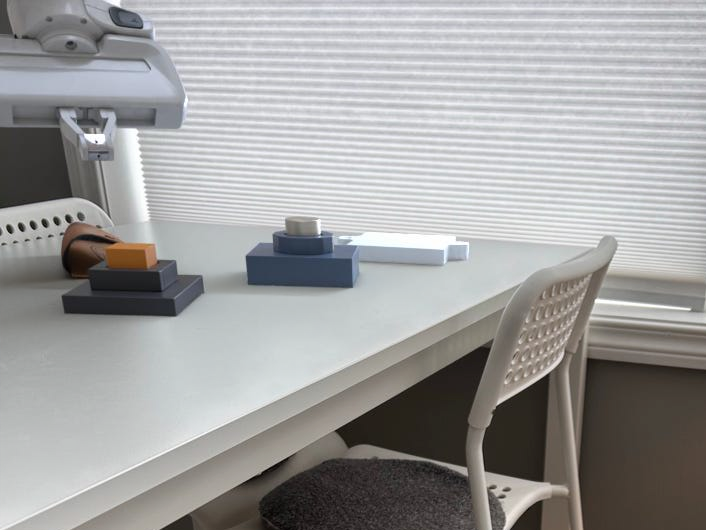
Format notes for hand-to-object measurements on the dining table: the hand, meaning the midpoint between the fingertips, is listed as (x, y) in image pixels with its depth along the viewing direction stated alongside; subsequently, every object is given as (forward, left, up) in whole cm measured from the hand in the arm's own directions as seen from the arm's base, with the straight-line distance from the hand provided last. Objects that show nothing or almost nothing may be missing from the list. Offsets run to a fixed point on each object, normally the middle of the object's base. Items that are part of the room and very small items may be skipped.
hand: (98, 156), depth 92 cm
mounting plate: (+28, +35, -14) cm, 47 cm away
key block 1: (+4, -9, -13) cm, 17 cm away
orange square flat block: (+4, -9, -9) cm, 13 cm away
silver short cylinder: (+17, +15, -9) cm, 25 cm away
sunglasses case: (-8, +20, -14) cm, 26 cm away
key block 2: (+17, +15, -13) cm, 27 cm away
